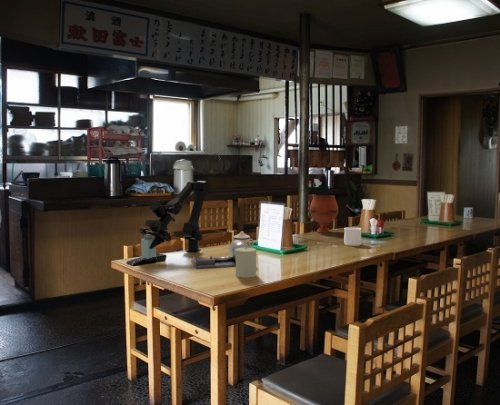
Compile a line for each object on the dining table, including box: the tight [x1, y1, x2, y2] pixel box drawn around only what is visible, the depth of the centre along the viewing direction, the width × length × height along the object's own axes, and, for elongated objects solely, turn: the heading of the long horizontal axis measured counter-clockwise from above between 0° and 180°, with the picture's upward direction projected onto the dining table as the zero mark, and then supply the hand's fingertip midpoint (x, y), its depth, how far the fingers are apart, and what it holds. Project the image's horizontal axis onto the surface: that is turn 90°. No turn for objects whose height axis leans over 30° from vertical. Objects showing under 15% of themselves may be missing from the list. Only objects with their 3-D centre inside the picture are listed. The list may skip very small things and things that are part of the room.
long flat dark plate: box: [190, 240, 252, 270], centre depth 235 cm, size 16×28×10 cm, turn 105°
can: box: [234, 247, 257, 279], centre depth 212 cm, size 9×9×12 cm
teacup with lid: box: [233, 231, 254, 248], centre depth 260 cm, size 12×9×12 cm
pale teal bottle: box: [140, 234, 157, 259], centre depth 240 cm, size 5×5×13 cm
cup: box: [343, 226, 362, 247], centre depth 284 cm, size 10×10×10 cm
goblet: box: [309, 194, 339, 234], centre depth 330 cm, size 19×19×25 cm
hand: (146, 248), depth 239 cm, fingers closed on pale teal bottle, 5 cm apart
